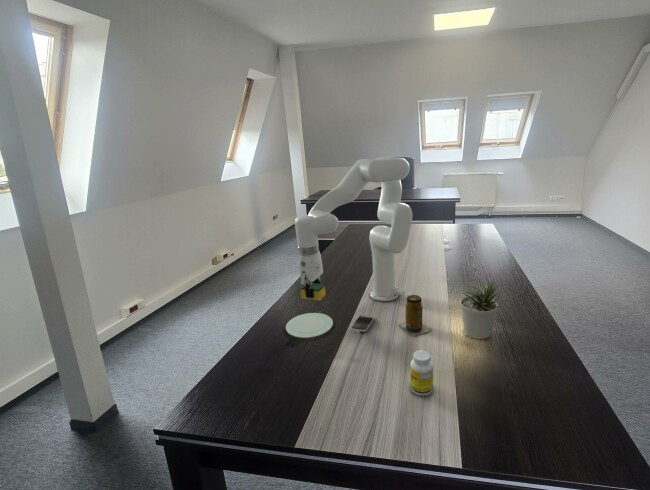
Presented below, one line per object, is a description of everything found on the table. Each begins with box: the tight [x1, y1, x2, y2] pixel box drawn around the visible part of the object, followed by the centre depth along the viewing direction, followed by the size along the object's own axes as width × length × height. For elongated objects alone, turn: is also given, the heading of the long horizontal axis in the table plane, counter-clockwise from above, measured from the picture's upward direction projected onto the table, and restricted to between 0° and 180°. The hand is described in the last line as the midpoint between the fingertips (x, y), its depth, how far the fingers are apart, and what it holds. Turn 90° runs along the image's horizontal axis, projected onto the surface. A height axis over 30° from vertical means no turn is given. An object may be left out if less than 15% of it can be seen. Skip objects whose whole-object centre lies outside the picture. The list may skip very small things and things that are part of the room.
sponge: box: [299, 282, 327, 301], centre depth 138 cm, size 8×5×4 cm, turn 68°
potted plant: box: [459, 281, 501, 340], centre depth 124 cm, size 13×14×20 cm
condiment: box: [400, 294, 431, 337], centre depth 131 cm, size 7×8×12 cm
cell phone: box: [350, 315, 375, 334], centre depth 136 cm, size 6×11×1 cm, turn 158°
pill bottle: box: [409, 349, 434, 396], centre depth 100 cm, size 6×6×11 cm
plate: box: [285, 312, 334, 338], centre depth 137 cm, size 18×18×1 cm
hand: (313, 293), depth 138 cm, fingers closed on sponge, 5 cm apart
